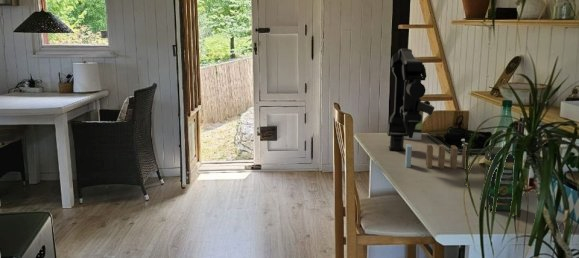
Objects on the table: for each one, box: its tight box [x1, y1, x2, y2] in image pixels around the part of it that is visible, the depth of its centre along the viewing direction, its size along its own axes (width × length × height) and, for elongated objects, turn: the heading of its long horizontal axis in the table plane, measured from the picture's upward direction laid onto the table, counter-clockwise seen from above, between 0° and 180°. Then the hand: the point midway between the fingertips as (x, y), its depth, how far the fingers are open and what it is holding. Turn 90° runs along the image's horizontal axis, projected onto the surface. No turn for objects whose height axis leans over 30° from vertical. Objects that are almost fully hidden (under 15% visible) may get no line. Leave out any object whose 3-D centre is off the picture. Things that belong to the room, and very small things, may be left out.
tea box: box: [404, 111, 424, 141], centre depth 260 cm, size 15×10×15 cm
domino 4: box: [449, 145, 459, 170], centre depth 207 cm, size 5×2×8 cm, turn 174°
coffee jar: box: [479, 146, 514, 212], centre depth 162 cm, size 10×8×19 cm
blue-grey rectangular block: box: [404, 143, 413, 168], centre depth 209 cm, size 5×2×8 cm, turn 174°
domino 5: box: [461, 145, 471, 171], centre depth 206 cm, size 5×2×8 cm, turn 174°
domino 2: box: [425, 144, 434, 169], centre depth 208 cm, size 5×2×8 cm, turn 174°
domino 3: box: [437, 144, 446, 170], centre depth 207 cm, size 5×2×8 cm, turn 174°
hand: (409, 135), depth 207 cm, fingers open, 8 cm apart
